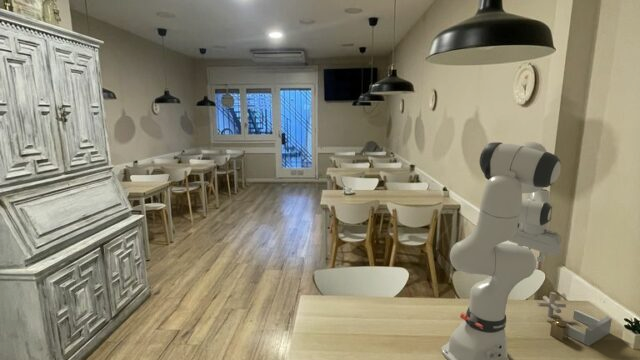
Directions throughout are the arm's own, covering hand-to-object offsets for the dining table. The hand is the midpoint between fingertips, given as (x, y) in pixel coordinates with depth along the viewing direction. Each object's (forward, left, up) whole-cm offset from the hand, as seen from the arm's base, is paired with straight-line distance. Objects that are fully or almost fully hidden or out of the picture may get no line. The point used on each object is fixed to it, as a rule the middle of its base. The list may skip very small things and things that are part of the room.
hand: (530, 257), depth 144 cm
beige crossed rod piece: (0, -10, -21) cm, 24 cm away
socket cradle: (0, -21, -21) cm, 29 cm away
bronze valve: (-11, -19, -21) cm, 31 cm away
